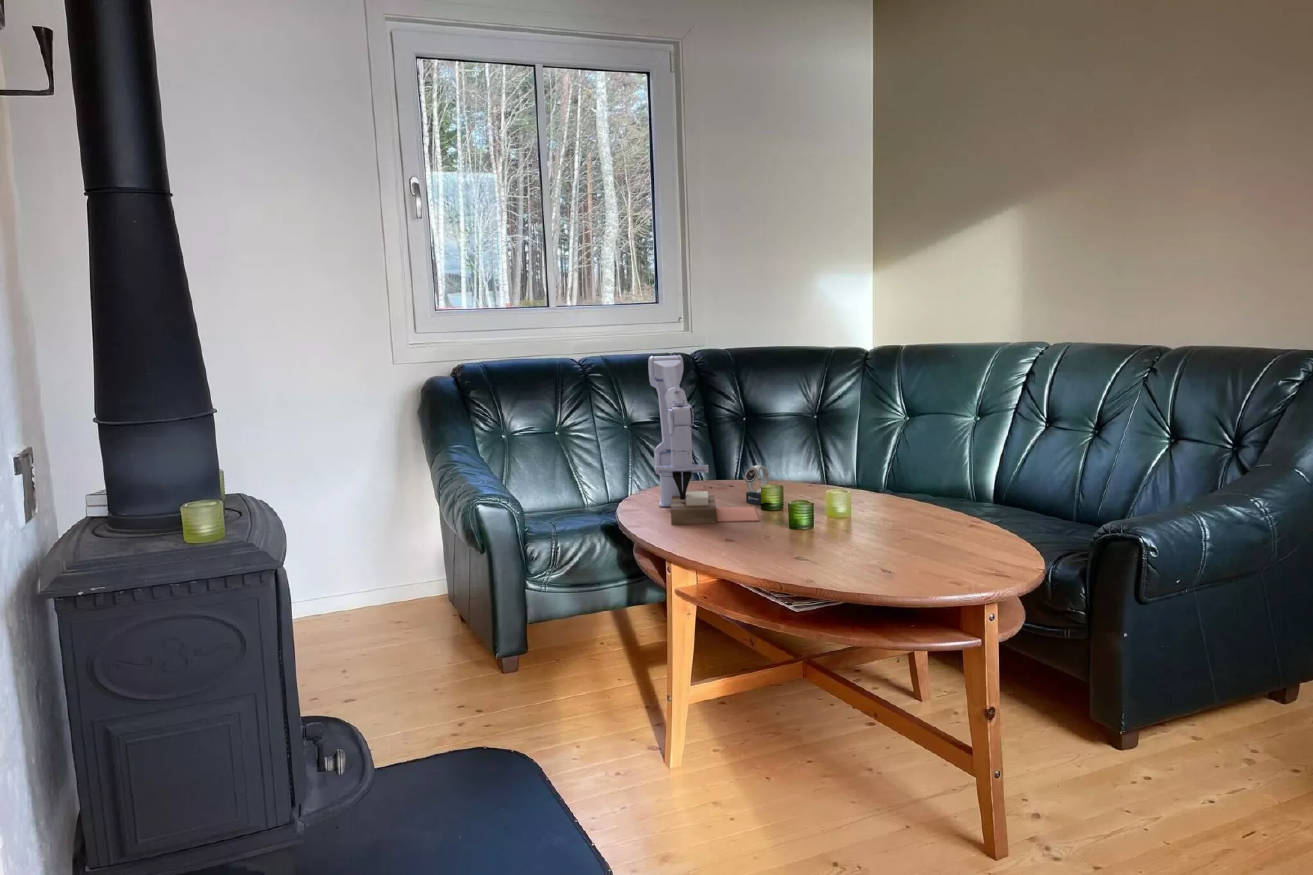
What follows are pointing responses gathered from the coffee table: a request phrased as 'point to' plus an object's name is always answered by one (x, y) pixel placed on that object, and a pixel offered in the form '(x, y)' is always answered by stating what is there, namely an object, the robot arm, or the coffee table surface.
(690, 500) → the tile
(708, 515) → the brown wooden block
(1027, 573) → the coffee table surface
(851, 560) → the coffee table surface
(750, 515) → the mat
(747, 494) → the watch
